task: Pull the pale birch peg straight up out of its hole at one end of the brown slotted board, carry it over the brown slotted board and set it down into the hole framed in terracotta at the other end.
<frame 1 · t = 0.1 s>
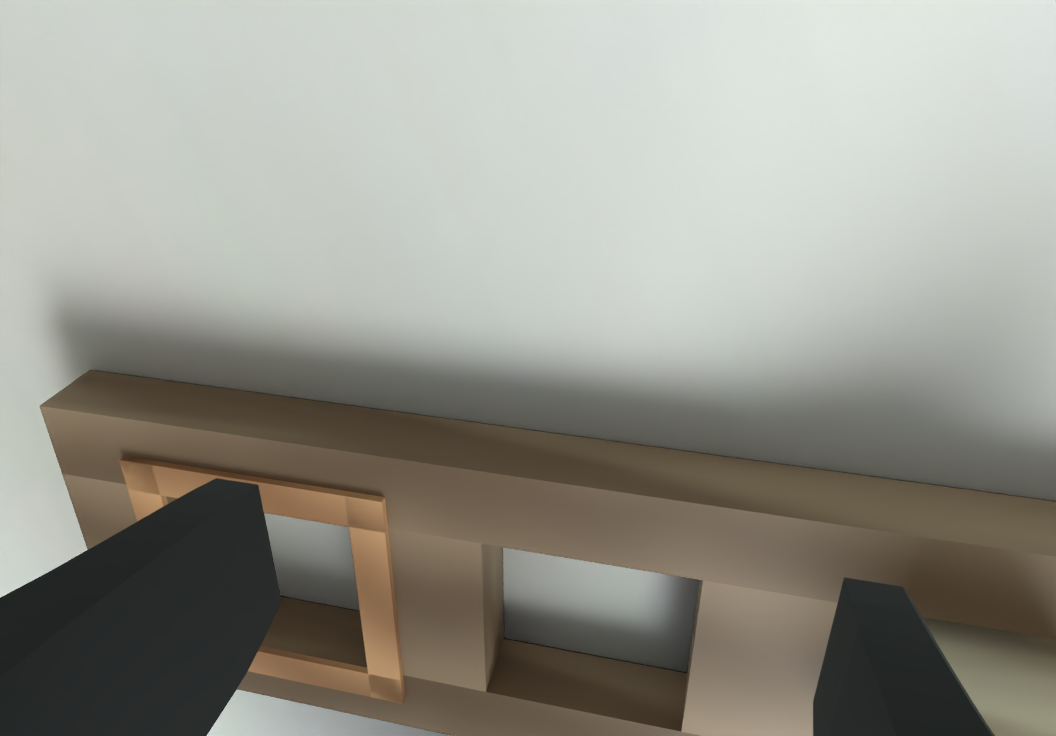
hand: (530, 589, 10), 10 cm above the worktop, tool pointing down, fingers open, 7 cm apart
brown slotted board: (597, 587, 24), on the worktop
peg: (939, 645, 22), resting in brown slotted board
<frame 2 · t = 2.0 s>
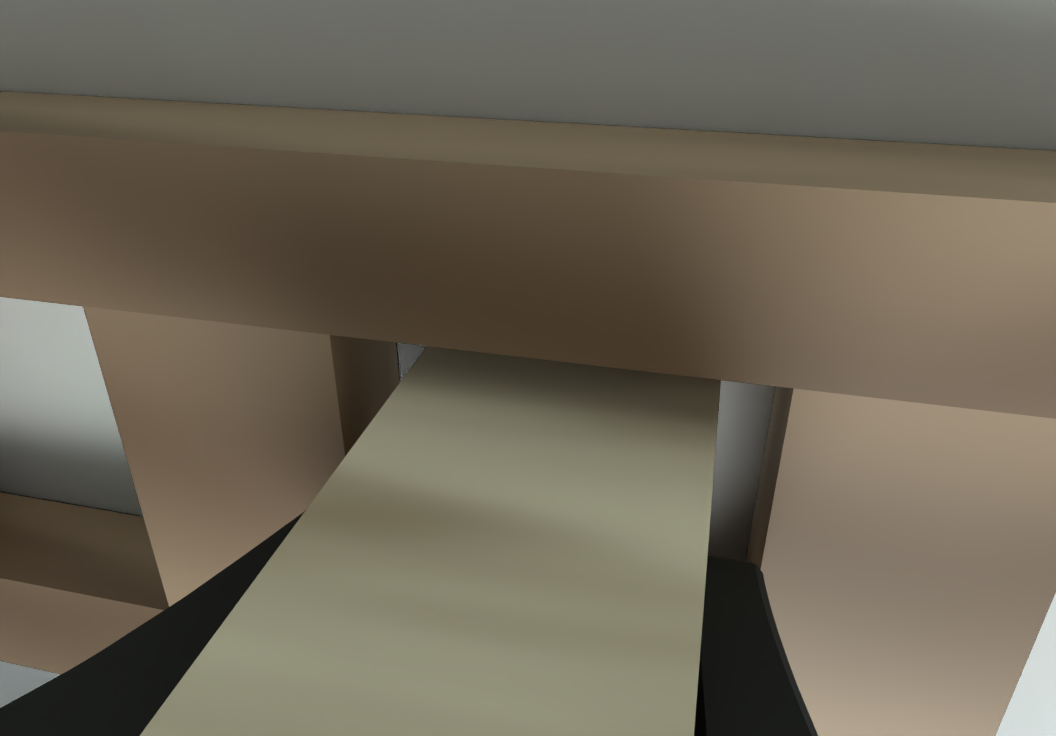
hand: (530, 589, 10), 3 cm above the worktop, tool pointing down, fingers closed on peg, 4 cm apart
brown slotted board: (66, 386, 15), on the worktop
peg: (574, 455, 13), resting in brown slotted board, touching gripper
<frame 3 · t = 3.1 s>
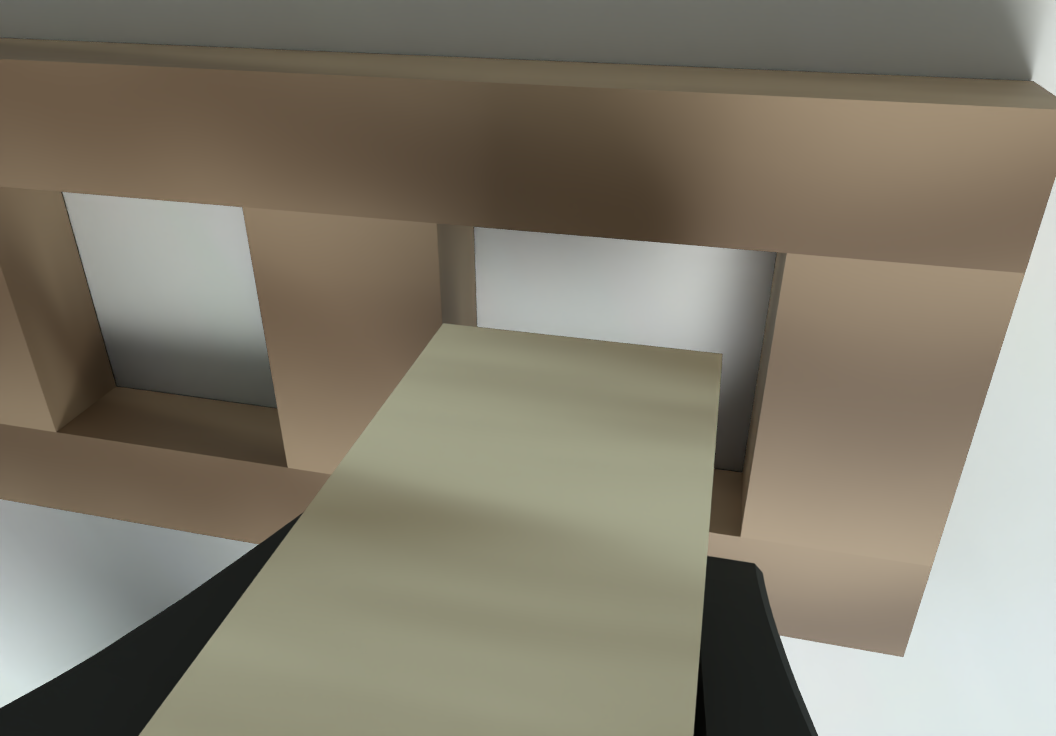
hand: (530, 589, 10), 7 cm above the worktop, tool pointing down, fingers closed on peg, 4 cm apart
brown slotted board: (196, 291, 18), on the worktop
peg: (574, 454, 13), point 4 cm above the worktop, touching gripper
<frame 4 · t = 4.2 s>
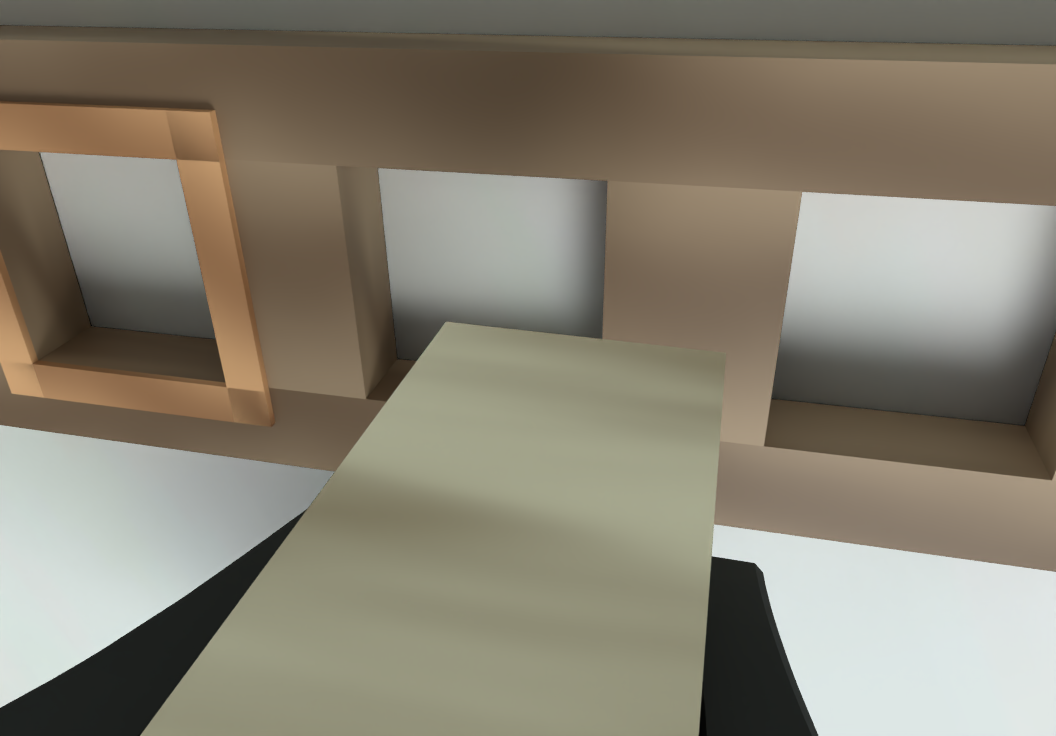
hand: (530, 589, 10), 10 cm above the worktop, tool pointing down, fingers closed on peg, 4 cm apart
brown slotted board: (498, 266, 19), on the worktop
peg: (576, 453, 13), point 7 cm above the worktop, touching gripper
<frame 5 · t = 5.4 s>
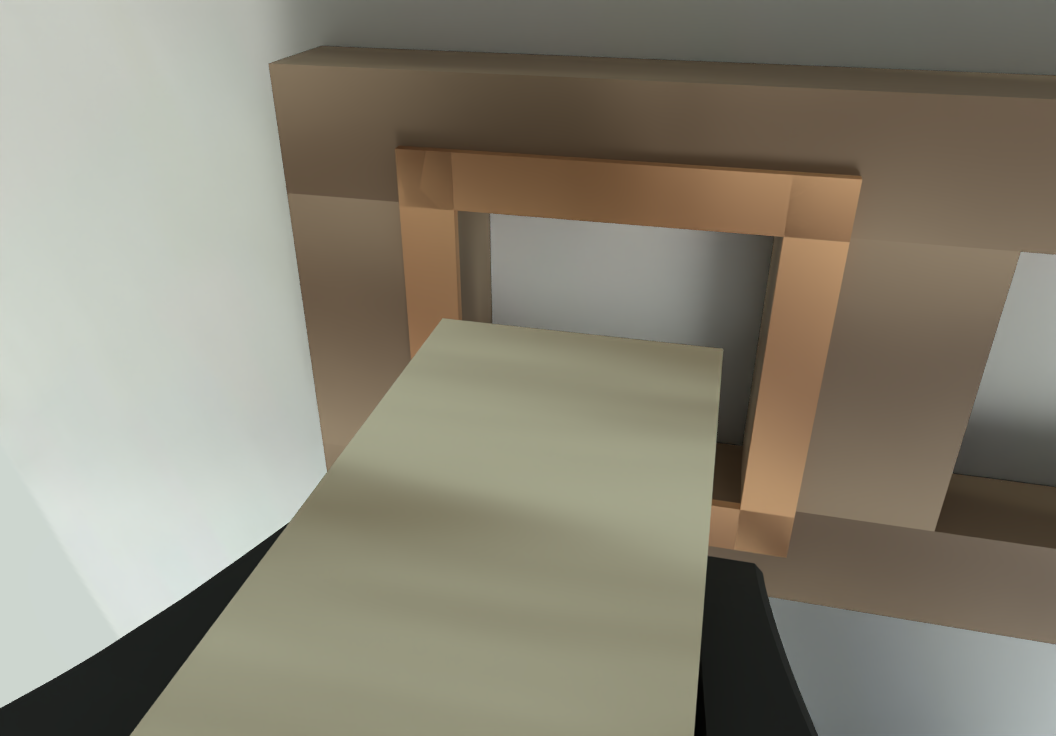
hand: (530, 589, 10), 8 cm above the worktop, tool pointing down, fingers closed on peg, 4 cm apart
peg: (574, 450, 13), point 5 cm above the worktop, touching gripper
when the fingers open (3 cm above the worktop, at t = 6.6 s): peg stays where it is, resting in brown slotted board.
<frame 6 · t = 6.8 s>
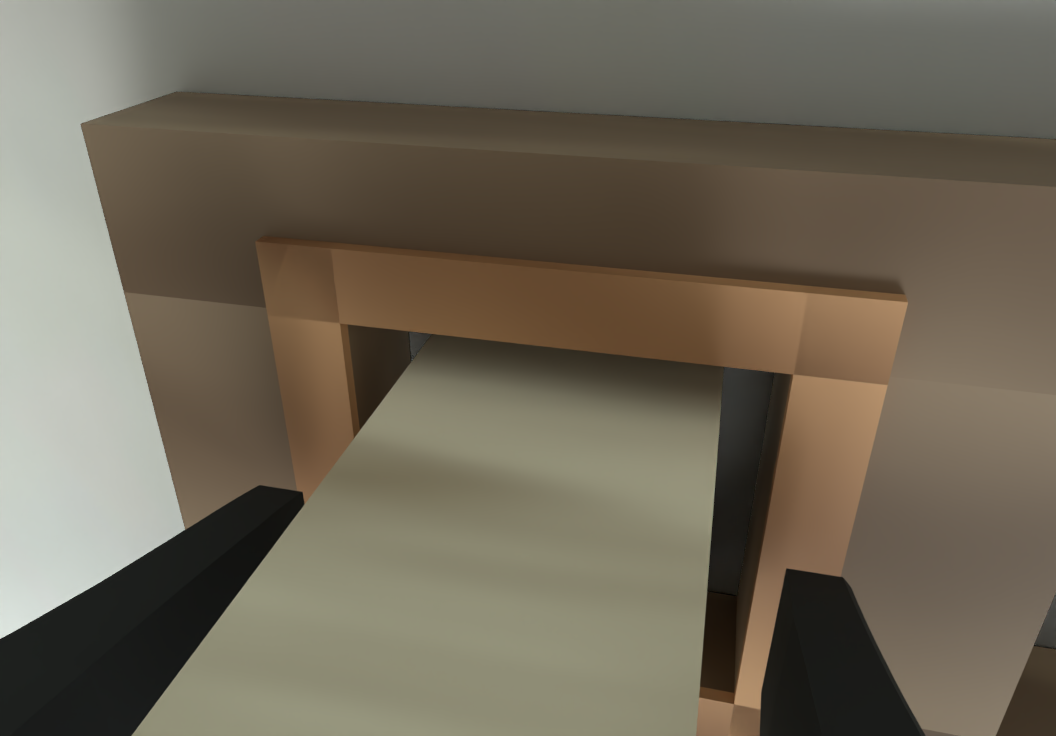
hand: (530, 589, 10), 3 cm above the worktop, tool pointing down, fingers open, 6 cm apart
peg: (581, 431, 13), resting in brown slotted board
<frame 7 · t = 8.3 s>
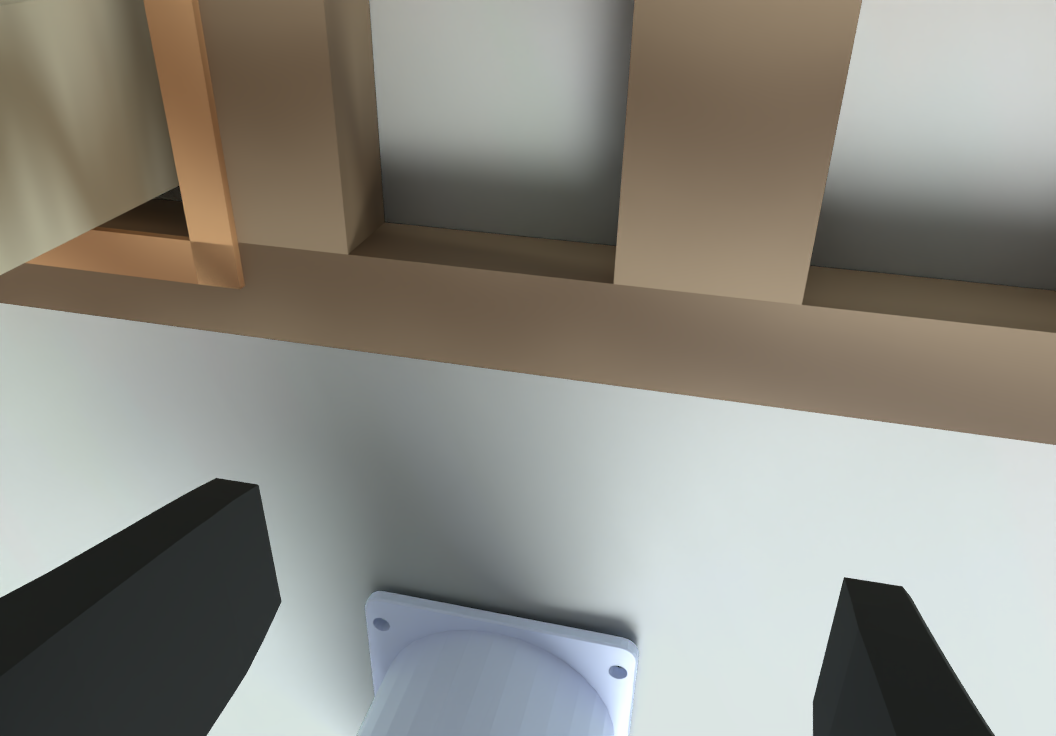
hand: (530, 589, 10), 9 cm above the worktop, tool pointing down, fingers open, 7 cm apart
brown slotted board: (502, 106, 17), on the worktop
peg: (115, 73, 19), resting in brown slotted board
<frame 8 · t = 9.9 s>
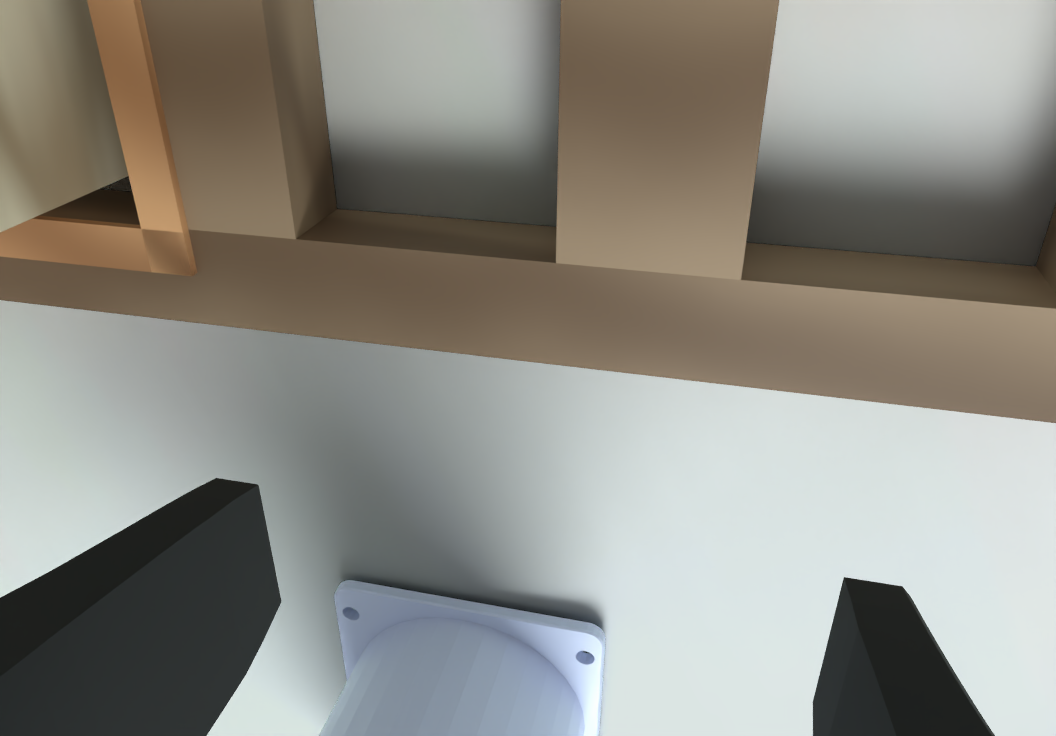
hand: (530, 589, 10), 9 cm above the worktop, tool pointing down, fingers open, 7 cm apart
brown slotted board: (446, 89, 17), on the worktop
peg: (68, 65, 19), resting in brown slotted board
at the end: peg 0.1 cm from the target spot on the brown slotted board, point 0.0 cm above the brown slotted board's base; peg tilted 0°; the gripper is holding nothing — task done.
